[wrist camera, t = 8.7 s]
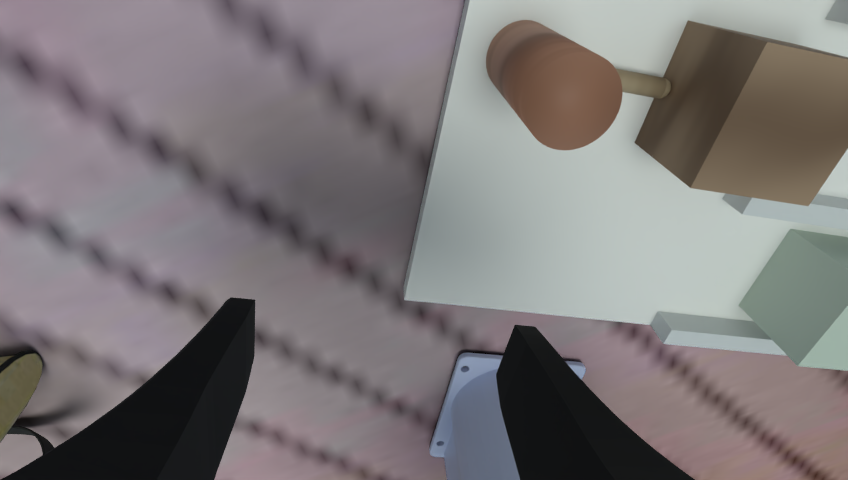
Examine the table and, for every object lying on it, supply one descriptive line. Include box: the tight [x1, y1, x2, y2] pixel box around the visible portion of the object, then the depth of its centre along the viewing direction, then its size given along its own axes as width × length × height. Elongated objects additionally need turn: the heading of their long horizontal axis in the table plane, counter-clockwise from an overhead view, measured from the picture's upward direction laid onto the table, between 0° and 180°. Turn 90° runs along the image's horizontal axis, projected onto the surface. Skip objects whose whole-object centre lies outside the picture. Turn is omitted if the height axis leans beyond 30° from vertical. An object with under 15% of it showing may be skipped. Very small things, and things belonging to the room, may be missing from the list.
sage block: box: [739, 229, 848, 371], centre depth 24 cm, size 5×5×4 cm
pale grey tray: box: [404, 0, 848, 355], centre depth 22 cm, size 17×26×2 cm, turn 79°
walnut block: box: [486, 20, 848, 206], centre depth 17 cm, size 5×12×6 cm, turn 79°
